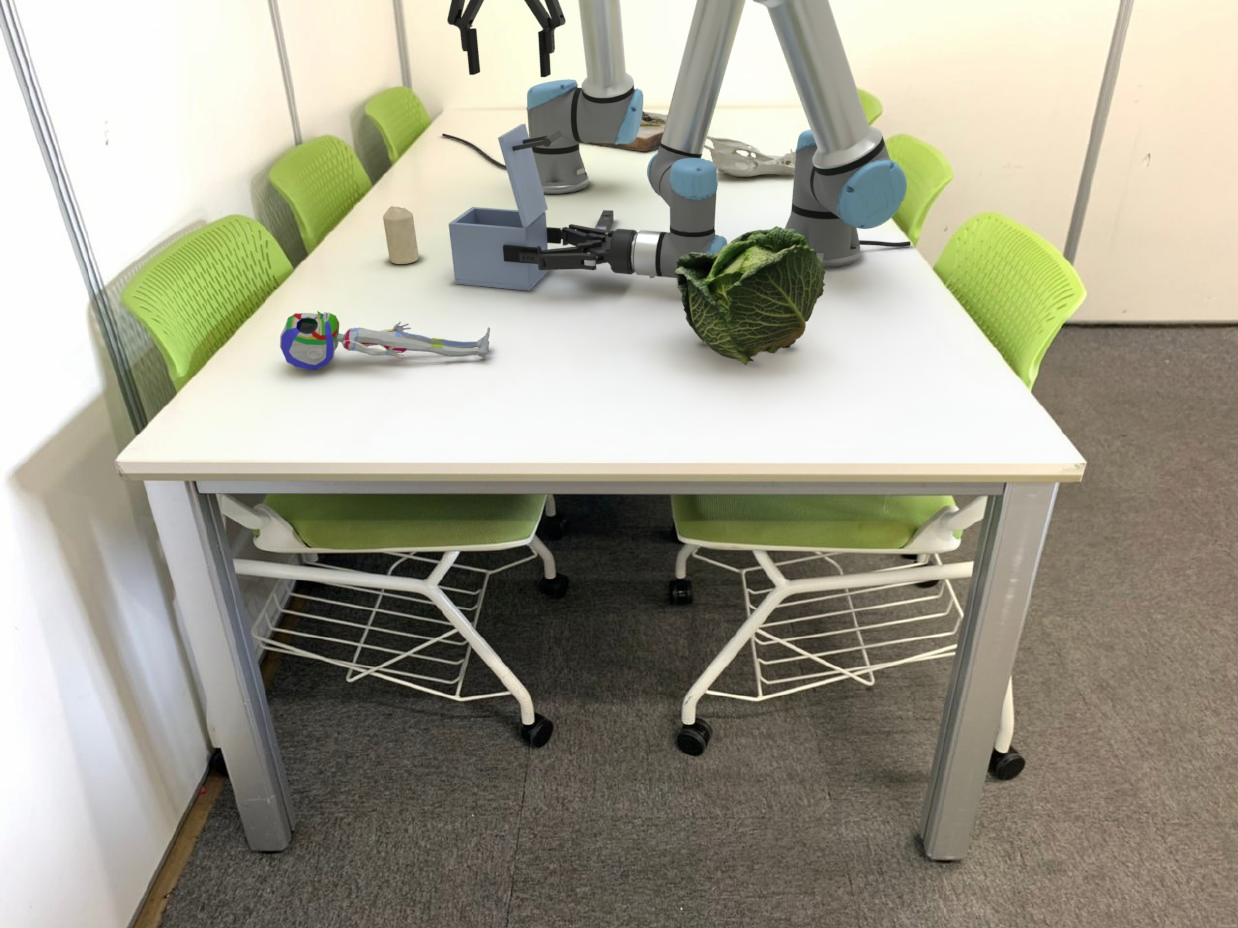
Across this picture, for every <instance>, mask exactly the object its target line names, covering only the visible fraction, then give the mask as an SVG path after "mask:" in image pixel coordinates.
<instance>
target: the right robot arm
mask: <svg viewBox="0 0 1238 928" xmlns="http://www.w3.org/2000/svg"><path fill="white" fill-rule="evenodd" d="M746 1H747V0H696V3H695V7H694V11H693V15H692V18H691V23H690V27H689V30H688V33H687V34H688V35H687V38H686V41H685V46H684V49H683V54H682V57H681V62H680V65H679V68H678V74H677V78H676V81H675V85H674V89H673V93H672V96H671V100H670V104H669V107H668V113H667V115H668V116H667V120H666V124H665V128H664V132H663V136H662V140H661V143H660V146H659V148H658V150H657V152H656V153H655V154H654V155H653V156H652V157H651V159H650V160H649V162H648V165H647V168H646V177H647V180H648V182H649V184H650V186H651V189H652V190H653V191H654V193H656V194H657V196H659V197H661V198H662V199H663V202H664V203H665V204H667V206H668V207H669V232H667V231H659V230H646V229H640V230H639V231H637V230H636V229H627V228H617V229H615V230H609V231H605V230H600V229H595V227H589V226H583V225H578V224H573V223H570V224H568V227H567V226H564V227H552V226H551V227H550V226H547V243H548V244H553V245H554V244H556V245H561V244H562V247H557V248H548V249H547V250H541V247H540V246H538V247H526V246H513V245H503V255H504V261H506V262H518V263H530V264H538V269H539V270H549V271H560V270H561V271H563V270H566V271H567V270H586V271H596V270H597V265H602V264H608V265H609V266H610V270H611V271H612V272H613V273H614V274H621V275H633V274H634V273H635V274H636V275H637V276H649V278H650V279H655V278H656V277H658V278H669V279H670V278H671V279H677V278H676V274H675V271H674V270H675V266H676V264H677V262H676V261H677V259H678V258H679V257H682V256H683V255H685V254H688V253H691V252H695V253H709V254H713V253H715V252H718V251H720V250H721V249H722V248H723V246H725V245H728V240H727V238H726V237H725V236H722V235H718V234H716V229H715V228H716V226H715V225H716V210H717V209H716V208H717V192H718V185H719V183H718V169H717V168H716V165H715V164H714V163H713V161H712V160H710V159H705V158H702V157H703V152H704V149H705V148H704V145H706V142H707V136H708V134H709V131H710V127H711V124H712V120H713V116H714V114H715V109H716V106H717V103H718V99H719V95H720V93H721V90H722V85H723V81H724V78H725V75H726V70H727V68H728V64H729V60H730V57H731V53H732V50H733V47H734V43H735V39H736V36H737V32H738V29H739V25H740V22H741V18H742V15H743V11H744V8H745V5H746ZM752 2H754V3H756V4H760V5H763V6H764V7H766V9H767V12H768V15H769V18H770V20H771V24H772V26H773V29H774V32H775V34H776V37H777V39H778V43H779V45H780V48H781V51H782V54H783V55H784V59H785V62H786V65H787V68H788V70H789V73H790V76H791V78H792V79H791V80H792V81H793V84H794V87H795V90H796V92H797V95H798V98H799V101H800V103H801V106H802V109H803V112H804V114H805V118H806V120H807V122H808V126H809V128H810V129H807V130H804V131H802V132H801V133H800V134H799V135H798V138H797V143H796V148H795V151H794V152H795V153H796V159H795V171H794V174H793V185H792V199H791V208H790V209H791V210H790V215H789V218H788V219H787V222H786V225H785V227H784V229H795V230H796V233H798V234H800V235H803V236H805V237H806V239H807V242H808V247H809V249H814V250H815V252H816V253H817V257H818V258H819V260H820V261H821V262H822V264H823V268H824V269H834V268H835V269H836V268H843V267H846V266H849V265H852V264H854V263H856V262H857V261H858V260H859V259H860V254H861V246H880V247H886V248H887V247H889V248H901V247H910V246H911V244H912V242H911V241H901V242H900V241H899V242H890V241H882V240H881V241H880V240H863V239H862V240H861V239H860V238H859V233H858V229H860V230H869V229H874V228H876V227H877V228H878V227H880V226H882V225H883V224H885V223H886V222H889V220H890V219H891V218H893V217H894V216H895V215H896V213H898V211H899V209H900V207H901V205H902V203H903V202H904V200H905V198H906V194H907V189H908V181H907V176H906V173H905V172H904V170H903V169H902V167H901V165H899V164H898V162H897V161H894V160H891V157H890V154H889V151H888V148H887V145H886V142H885V139H884V136H883V133H882V130H880V129H879V128H877V127H874V126H871V125H870V124H869V122H868V119H867V116H866V112H865V110H864V106H863V104H862V100H861V97H860V95H859V91H858V88H857V85H856V81H855V78H854V75H853V72H852V69H851V66H850V63H849V60H848V57H847V54H846V51H845V47H844V44H843V41H842V38H841V35H840V31H839V29H838V25H837V23H836V19H835V17H834V13H833V9H832V6H831V3H830V0H752ZM568 245H571V246H568ZM565 246H568V247H565ZM545 260H546V261H545Z"/></svg>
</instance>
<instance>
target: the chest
mask: <svg viewBox="0 0 1238 928" xmlns="http://www.w3.org/2000/svg"><path fill="white" fill-rule="evenodd" d="M547 227H548V226H547V212H546V211H545V212H544V213H542V214H541V215H540V216H539V217H538V218H537V219H535V220H534V221H533V222H532V223H531V224H530V225H528V226H526V227H523V226H522V222H521V219H520V215H519V212H518V209H507V208H495V207H494V208H493V207H479V206H472V207H470V208H469V209H467V210H466V211H464V212H463V213H461V214H459V216H457V217H456V218H454V219H453V220H452V221H450V222H448V230H449V242H450V249H451V258H452V265H453V266H452V267H453V273H454V274H453V276H454V282H455V283H454V284H456V285H466V286H476V287H487V288H497V289H498V288H499V289H506V290H518V291H528V292H530V291H531V290H532V289H533V288H534V287H536V285H537V284H538V283H539V282H540V281H541V280H542V279H543V278H544V277H545V276H546V275H547V274H548V273H549V272H550V270H539V269H538V264H530V263H518V262H506V261H504V255H503V245H513V246H526V247H538V246H540V247H541V250H547V249H549V248H548V247H549V243H547ZM545 261H546V260H545Z"/></svg>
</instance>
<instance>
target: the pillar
mask: <svg viewBox="0 0 1238 928" xmlns="http://www.w3.org/2000/svg"><path fill="white" fill-rule="evenodd" d="M614 216H615V215H614V210H613V209H612V210H611V209H602V212H601V214H600V216H599V219H598V221H597V222H596V225H595V227H594V228H595V229H600V230H605V231H611V228H612V226H613V223H614Z"/></svg>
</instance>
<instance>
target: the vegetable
mask: <svg viewBox="0 0 1238 928" xmlns="http://www.w3.org/2000/svg"><path fill="white" fill-rule="evenodd" d="M676 262H677V264H676V266H675V270H674V271H675V274H676V278H675V279H676V282H677V287H676V288H677V290H678V291H679V292H680V293H681V303H682V306H683V312H684V313H685V320H686V322H687V323H688V325H689V327H690V328H691V329H692V330H693V332H694V333H695V335H697V337H698V338H699V339H700V340H701V341H702V342H703V343H705V344H706V345H707V346H708V347H709V349H711V350H712V351H713V352H715V354H716V353H717V354H718V355H720V356H722V357H724V358H727V359H732V360H737V361H739V362H741V363H742V364H743V365H745V366H747V365H748V363H749V362H753V363H754V362H755V360H754V359H753V357H755V356H756V355H758V354H760V353H762V352H764V353H768V354H775V353H776V352H778V350H781V349H789V348H791V346H792V345H795V343H796V341H797V340H798V339H800V338H801V337H802V336H803V335H804V334H805V332H806V328H807V324H806V323H807V322H809V320H810V319H811V316H812V314H813V311H814V307H815V305H816V304H817V303H818V302H817V301H818V299H819V298H820V297H822V296H823V295H824V291H825V290H824V286H825V285H826V283H825V282H824V281H825V274H826V271H825V268H823V264H822V262H821V261H820V260H819V258H818V257H817V253H816V252H815V250H814V249H809V247H808V242H807V239H806V237H805V236H803V235H800V234H798V233H796V230H795V229H785V228H782V227H781V226H778V225H775V226H774V227H772V228H771V229H757V230H751V231H747V232H745V233H742V234H741V235H739V236H738V237H736V238H733V239H732V240H731V241H730V243H727V245H725V246H723V248H722V249H721V250H720V251H718V252H715V253H713V254H709V253H695V252H691V253H688V254H685V255H683V256H682V257H679V258H678V259H677V261H676Z"/></svg>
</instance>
